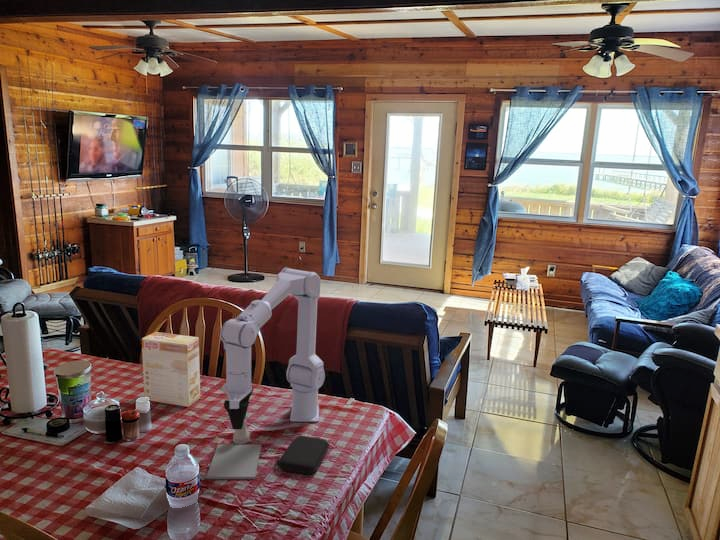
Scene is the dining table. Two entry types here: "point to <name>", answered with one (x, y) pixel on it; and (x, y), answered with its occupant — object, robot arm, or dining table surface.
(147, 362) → the coffeecake box
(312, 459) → the carrying case or bag
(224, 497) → the dining table surface
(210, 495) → the dining table surface
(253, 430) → the dining table surface
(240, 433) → the rook chess piece
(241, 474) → the slate mat
